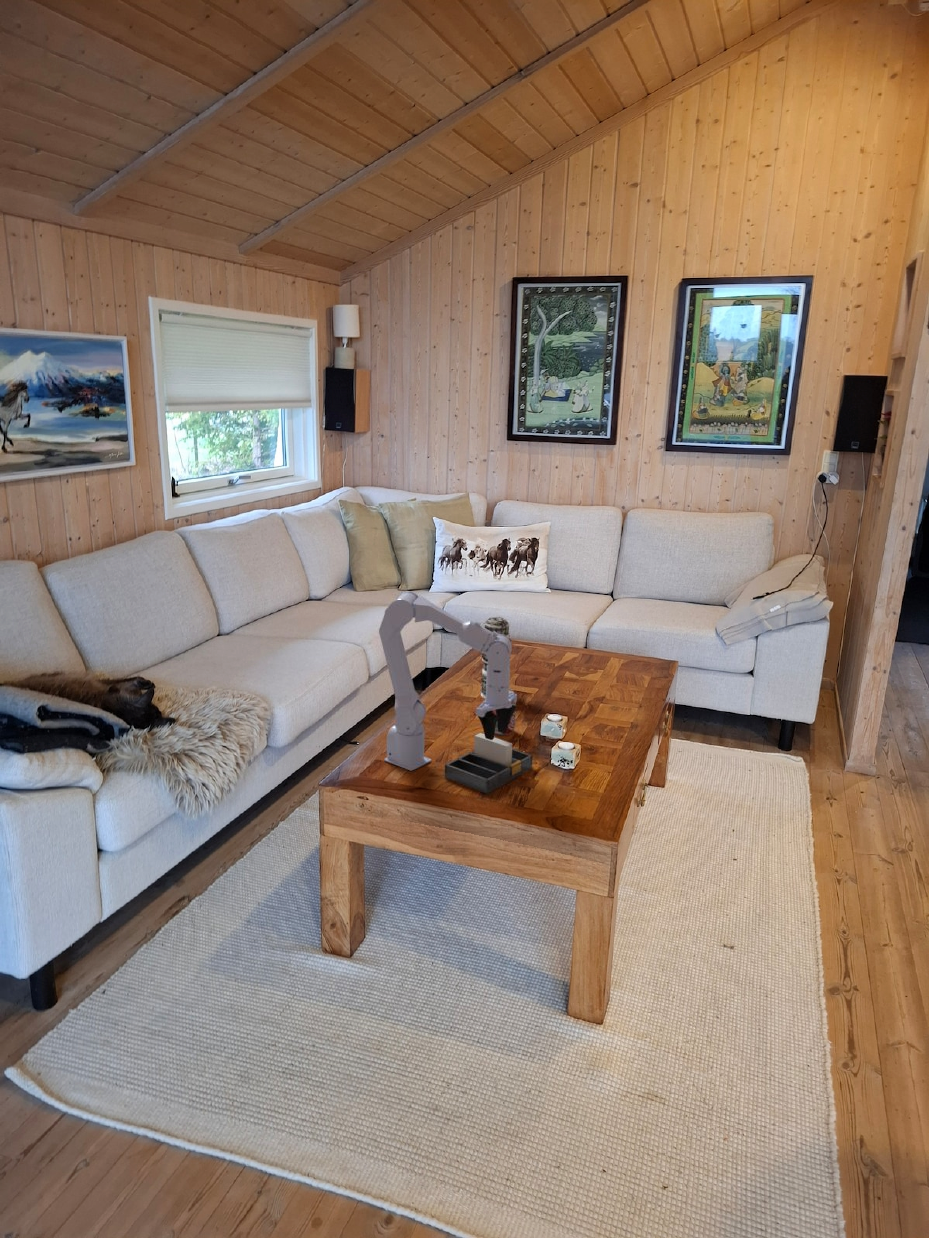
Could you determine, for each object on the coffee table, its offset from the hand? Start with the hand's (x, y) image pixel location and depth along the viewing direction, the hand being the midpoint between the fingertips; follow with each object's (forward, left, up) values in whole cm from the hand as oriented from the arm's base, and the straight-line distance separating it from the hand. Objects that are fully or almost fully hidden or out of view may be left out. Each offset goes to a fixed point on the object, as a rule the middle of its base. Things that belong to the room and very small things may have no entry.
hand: (495, 735), depth 214 cm
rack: (0, -2, -9) cm, 10 cm away
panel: (-1, 0, -8) cm, 8 cm away
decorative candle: (-32, +43, -10) cm, 55 cm away
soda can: (-13, +21, -10) cm, 27 cm away
